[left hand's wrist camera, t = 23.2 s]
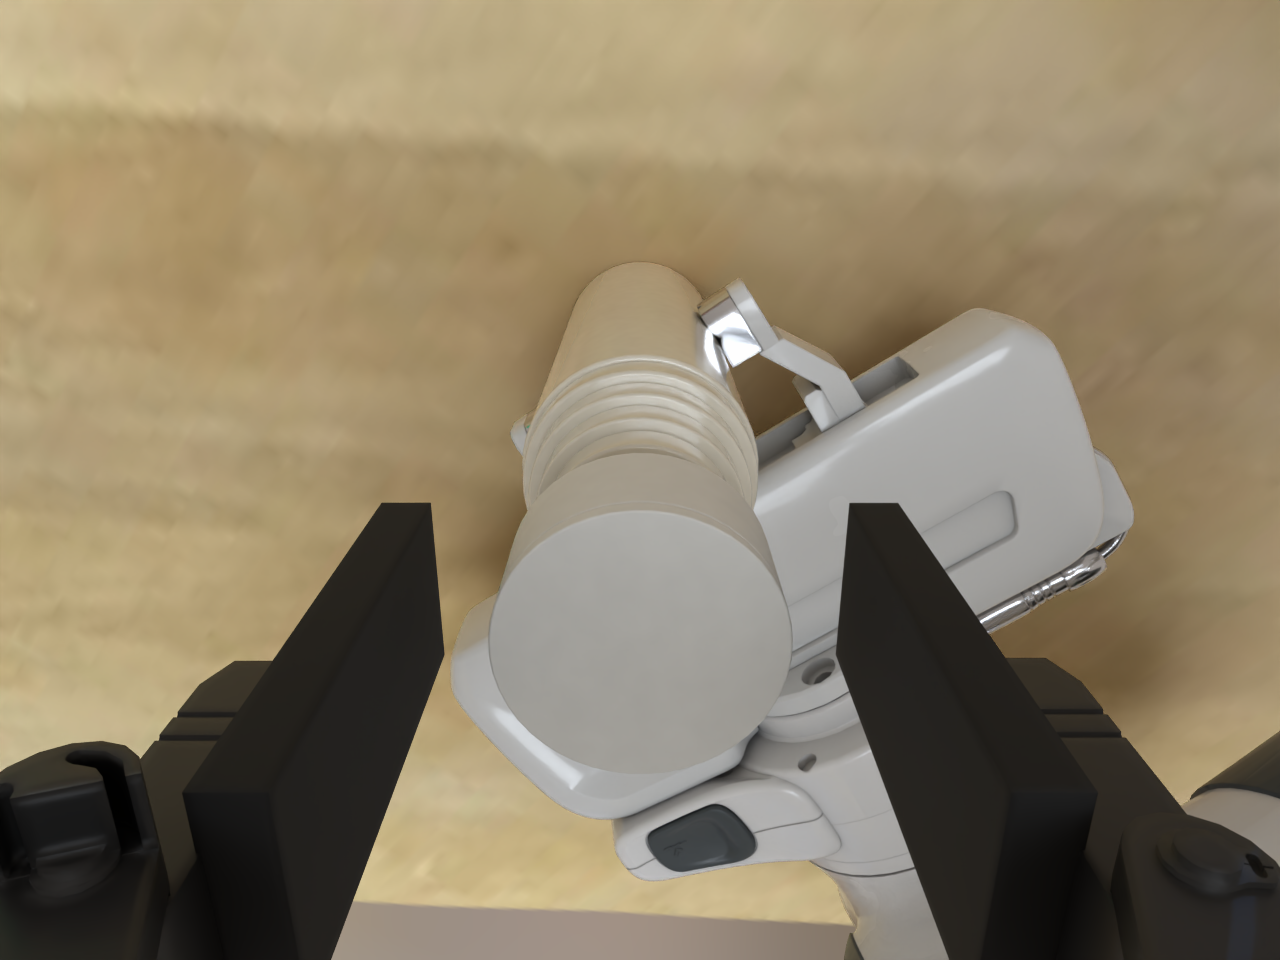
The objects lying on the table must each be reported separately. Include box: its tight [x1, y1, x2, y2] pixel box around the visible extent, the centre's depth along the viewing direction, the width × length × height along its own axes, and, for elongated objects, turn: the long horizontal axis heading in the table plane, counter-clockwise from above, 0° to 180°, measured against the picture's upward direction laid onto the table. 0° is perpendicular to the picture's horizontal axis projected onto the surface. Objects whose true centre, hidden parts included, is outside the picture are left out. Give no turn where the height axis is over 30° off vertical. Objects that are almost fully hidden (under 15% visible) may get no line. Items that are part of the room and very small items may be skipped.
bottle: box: [522, 262, 758, 511], centre depth 22 cm, size 5×5×20 cm
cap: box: [488, 453, 793, 774], centre depth 14 cm, size 4×4×2 cm
